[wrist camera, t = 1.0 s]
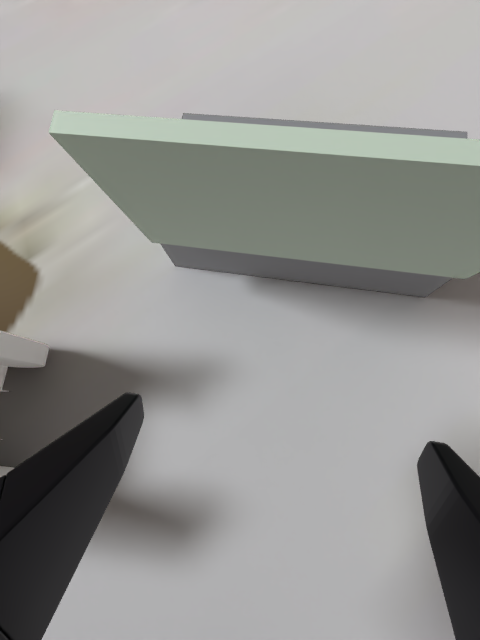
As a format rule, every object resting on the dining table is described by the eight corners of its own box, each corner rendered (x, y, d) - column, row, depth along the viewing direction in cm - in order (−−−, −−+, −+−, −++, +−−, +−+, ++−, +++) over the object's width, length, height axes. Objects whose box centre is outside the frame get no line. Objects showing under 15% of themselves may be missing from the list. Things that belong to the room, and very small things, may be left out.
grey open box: (425, 297, 23) (467, 267, 18) (175, 266, 25) (152, 232, 20) (428, 185, 25) (467, 131, 20) (198, 165, 27) (183, 113, 22)
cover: (466, 264, 18) (465, 279, 18) (154, 229, 20) (151, 242, 20) (669, 152, 9) (670, 180, 9) (54, 110, 11) (48, 132, 11)
